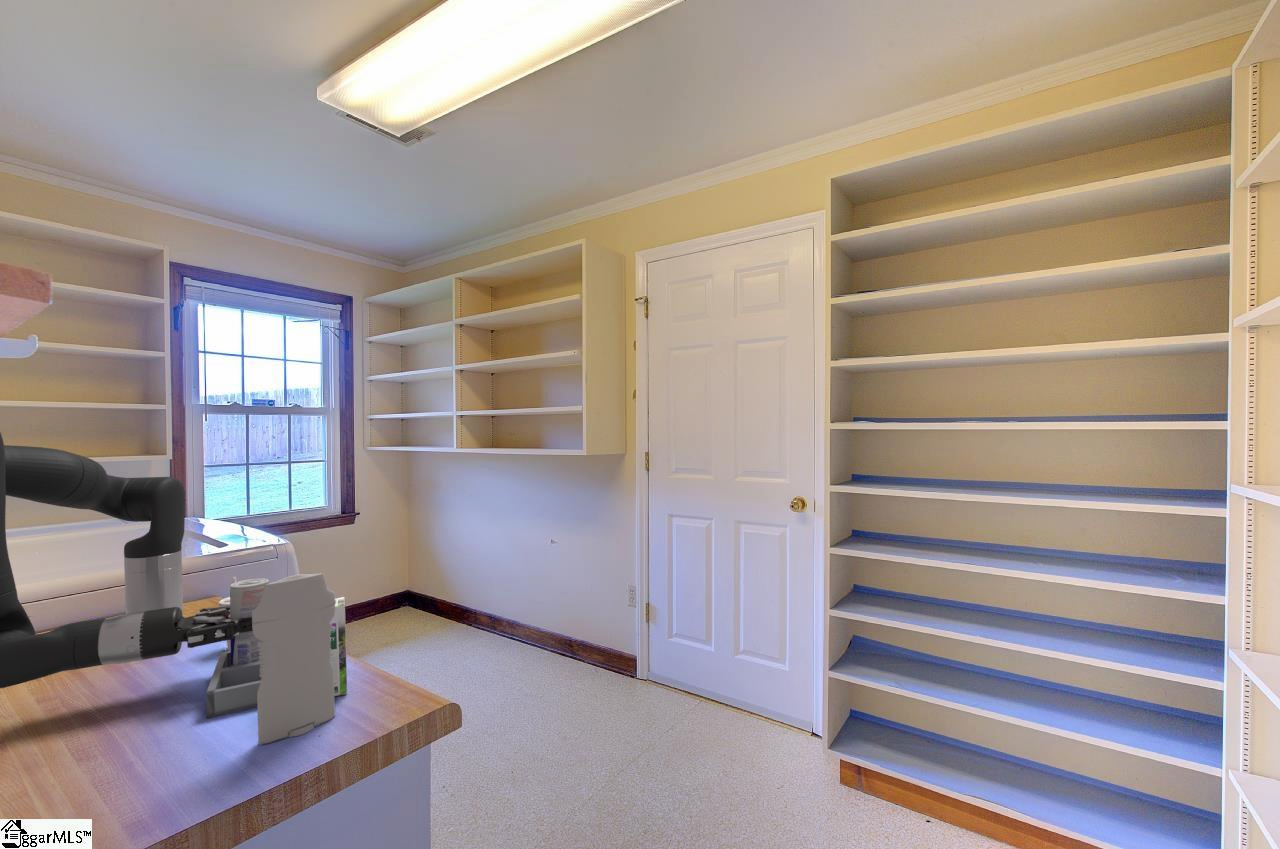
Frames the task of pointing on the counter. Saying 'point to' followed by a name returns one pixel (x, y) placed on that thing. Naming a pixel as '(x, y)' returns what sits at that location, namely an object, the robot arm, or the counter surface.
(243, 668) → the gray divided tray
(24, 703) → the counter surface
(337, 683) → the syrup box
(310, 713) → the grey flat bottle
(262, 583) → the beverage can
